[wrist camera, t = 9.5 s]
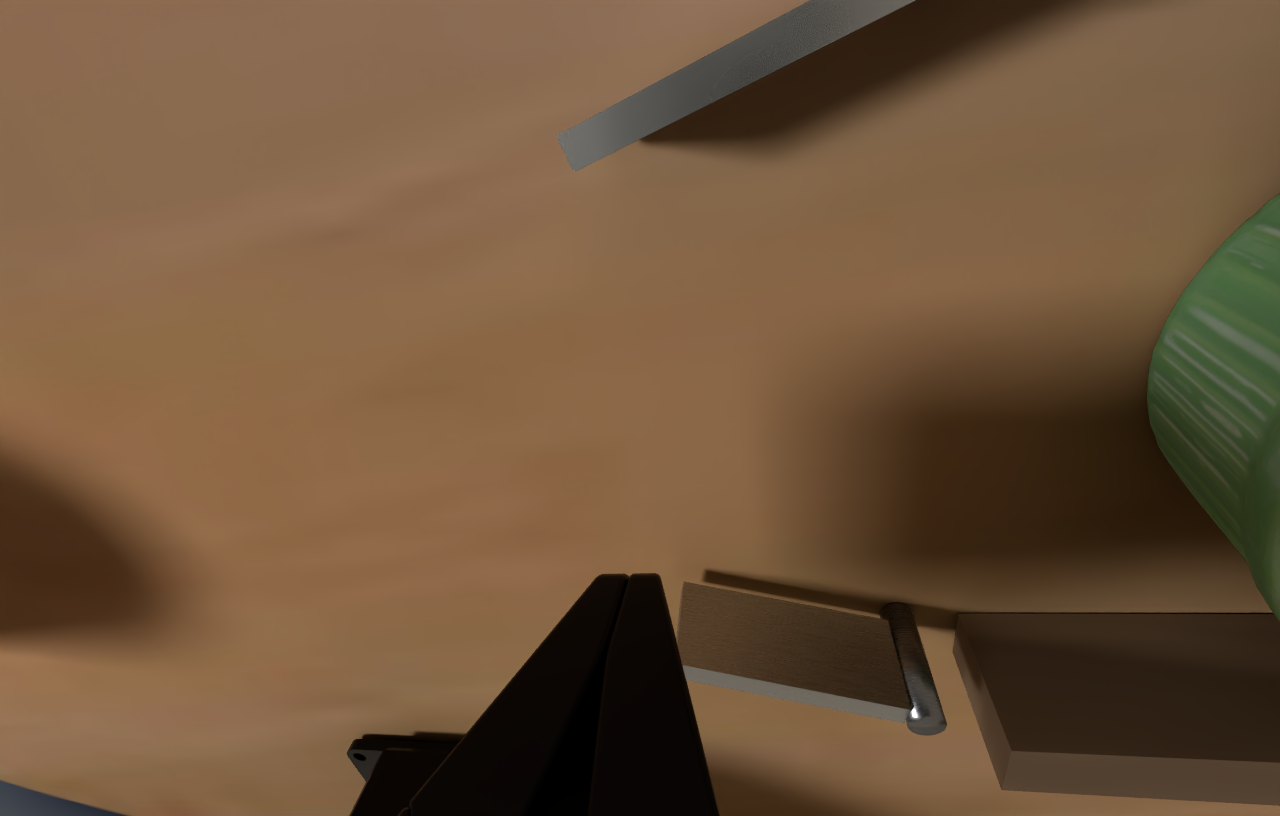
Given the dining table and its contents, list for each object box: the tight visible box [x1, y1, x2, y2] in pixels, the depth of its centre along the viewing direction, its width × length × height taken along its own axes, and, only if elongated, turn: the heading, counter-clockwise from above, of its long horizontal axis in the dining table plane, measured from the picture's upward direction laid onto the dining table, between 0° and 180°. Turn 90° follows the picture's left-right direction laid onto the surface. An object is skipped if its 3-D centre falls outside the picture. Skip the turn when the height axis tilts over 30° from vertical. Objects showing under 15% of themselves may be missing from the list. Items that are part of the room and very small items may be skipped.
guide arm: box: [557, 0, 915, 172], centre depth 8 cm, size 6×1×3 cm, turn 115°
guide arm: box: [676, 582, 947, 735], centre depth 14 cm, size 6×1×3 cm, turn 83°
